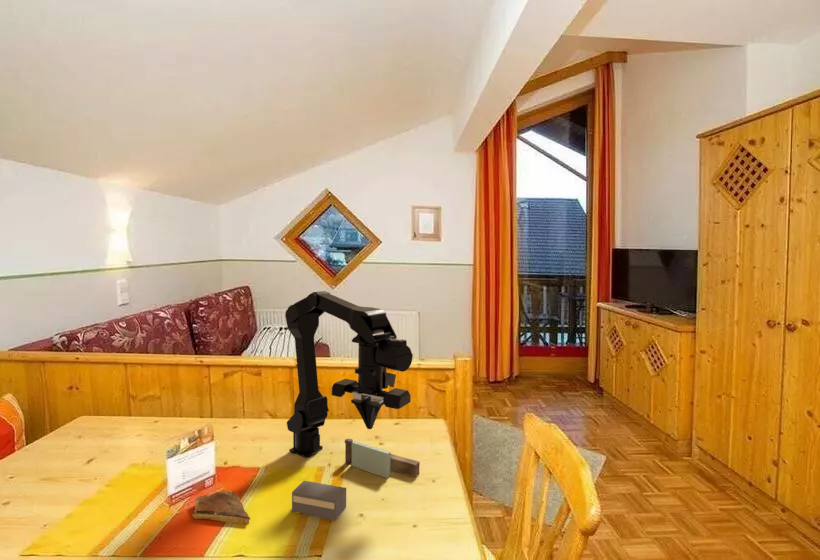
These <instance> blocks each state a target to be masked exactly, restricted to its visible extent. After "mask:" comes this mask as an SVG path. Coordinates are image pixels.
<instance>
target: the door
mask: <svg viewBox="0 0 820 560" xmlns="http://www.w3.org/2000/svg"><path fill="white" fill-rule="evenodd" d="M391 454H392V452H391V451H389V450H385V449H382V448H378V447H376V446H372V445H369V444H366V443H363V442H360V441H356V440H353V442H352V463H351V466H352V467H354V468H358V469H361V470H362V471H363V470H364V471H366V472H369V473H372V474H375V475H378V476H380V477H383V478H386V479H388V478H390V477H391V470H390V459H391Z"/></svg>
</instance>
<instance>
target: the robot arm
mask: <svg viewBox="0 0 820 560" xmlns="http://www.w3.org/2000/svg"><path fill="white" fill-rule="evenodd" d="M324 313H327V314H329V315H331V316H333V317H335V318H337V319H339V320H342V321H344V322H346V323H347V324H348V326H349V328H350V329H351V330H352V331H353V332H355V333H356V336H354V337H353V338H352V339H351V342H352V343H356V344H358V356H357V357H358V359H357V360H358V363H357V364H358V365H357V366H358V367H357V368H355V369H354V374H357V377H358V378H357V380H354V379H349V378H343V379H342V380H339V381H336V382H334V383H333V385H332V386H331V396H333V397H337V398H342V397H344V395H345V394H346V393H349V394H352V399H351V400H350V402H351V404H354V405H353V406H354V407H356V409H357V412H358V413H359V415H360V416H361V419H362V420H363V423H364V425H365V427H366V429H367V430H372V429H373V428H374V425H375V422H376V420H377V417H378V413H379V412H380V410H381V408H382V406H385V407H386V408H389V409H395V410H400V409H401V408H403V407H405V406H407V405H408V404H410V403H411V397H412V396H411V394H410V391H409V390H407V389H403V388H396V387H395V384H396V383H395V382H396V378H397V374H396V373H392V372H387V369H388V370H389V369H390V370H393V371H398V372H406V371H408V370H409V369H410V366H411V365H412V362H413V355H414V353H412V350H411V348H410V346H408V343H407V342H408V341H407V340H406V339H398V338H397V334H396V332H395V329H394V328H393V326H392V324H391V322H390V320H389V318H388V316H387V312H386V311H385V310H383V309H381V308H378V307H371V306H360V305H356V304H354V303H352V302H350V301H348V300H345V299H342V298H340V297H338V296H336V295H333V294H331V293H330V292H328V291H326V290H323V291H320V290H319V291H314V292H311V293H310V294H309V295H307V296H306V297H304V298H302V299H301V300H298V301H296V302H295V303H293V304H291V305H289V306H288V308H287V309H286V311H285V315H284V317H285V321H286V325H287V326H286V327H287V329H288V331H289V333H290V334H291V335H292V337H293V338H294V344H295V357H296V368H297V378H298V381H297V382H298V390H299V391H298V392H299V393H298V395H297V397H296V399H295V402H294V406H293V415H291V417H290V418H289V419H288V420H287V422H286V426H287V427H286V428H287V431H289V432H291V433H293V434H292V435H293V436H292V437H293V440H292V441H293V442H292V443H293V446H292V447H291V448H290V449H288V451H289V453H292V454H295V455H298V456H302V457H305V458H309V457H310V456H312V455H313V454H315V453H317V452H320V450H322V449H323V445H321V434H320V427H324V425H325V422H326V419H327V418H328V412H330V411H329V406H328V405H329V404H328V400H329V399H328V397H327V396H326V395H323V394H322V393H321V391H320V389H319V380H318V368H317V359H316V358H317V356H316V346H315V334H316V332H317V331H318V328H319V327H320V326H319V325H320V324H319V323H320V317H321V316H322V315H323V314H324ZM389 387H391V388H392V389H391V390H389V391H386V389H388V388H389ZM384 389H385V390H384Z"/></svg>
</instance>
